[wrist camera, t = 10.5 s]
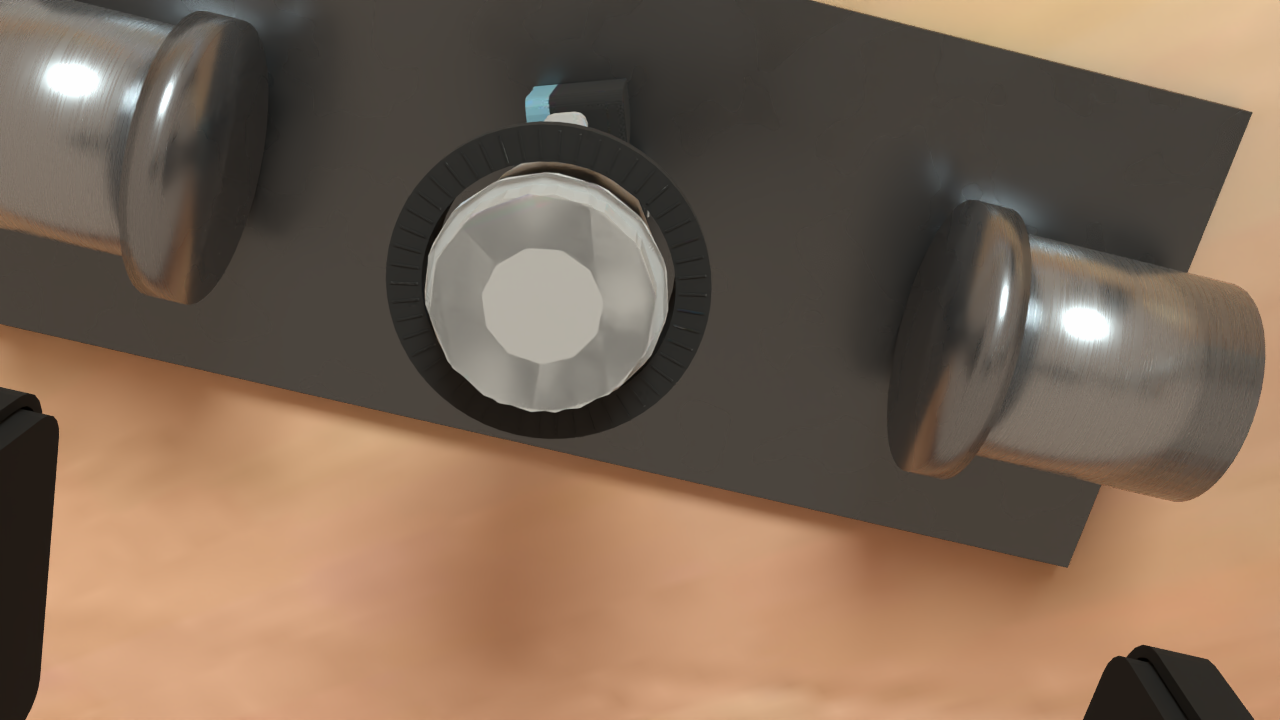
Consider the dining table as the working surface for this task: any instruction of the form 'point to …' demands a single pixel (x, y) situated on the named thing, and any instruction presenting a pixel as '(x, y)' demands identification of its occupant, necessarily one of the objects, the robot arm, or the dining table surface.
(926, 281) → the plate with silver knobs
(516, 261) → the push button
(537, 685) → the dining table surface
